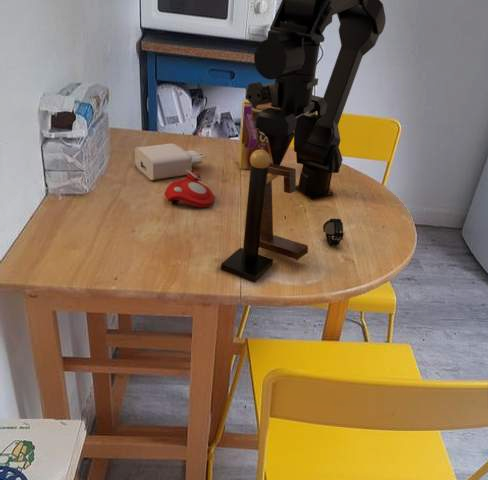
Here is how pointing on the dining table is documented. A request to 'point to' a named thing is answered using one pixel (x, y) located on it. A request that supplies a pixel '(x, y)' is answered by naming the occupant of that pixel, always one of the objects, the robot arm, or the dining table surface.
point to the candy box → (251, 134)
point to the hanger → (267, 237)
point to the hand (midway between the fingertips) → (286, 158)
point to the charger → (165, 160)
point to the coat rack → (253, 224)
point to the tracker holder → (190, 191)
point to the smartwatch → (333, 231)
